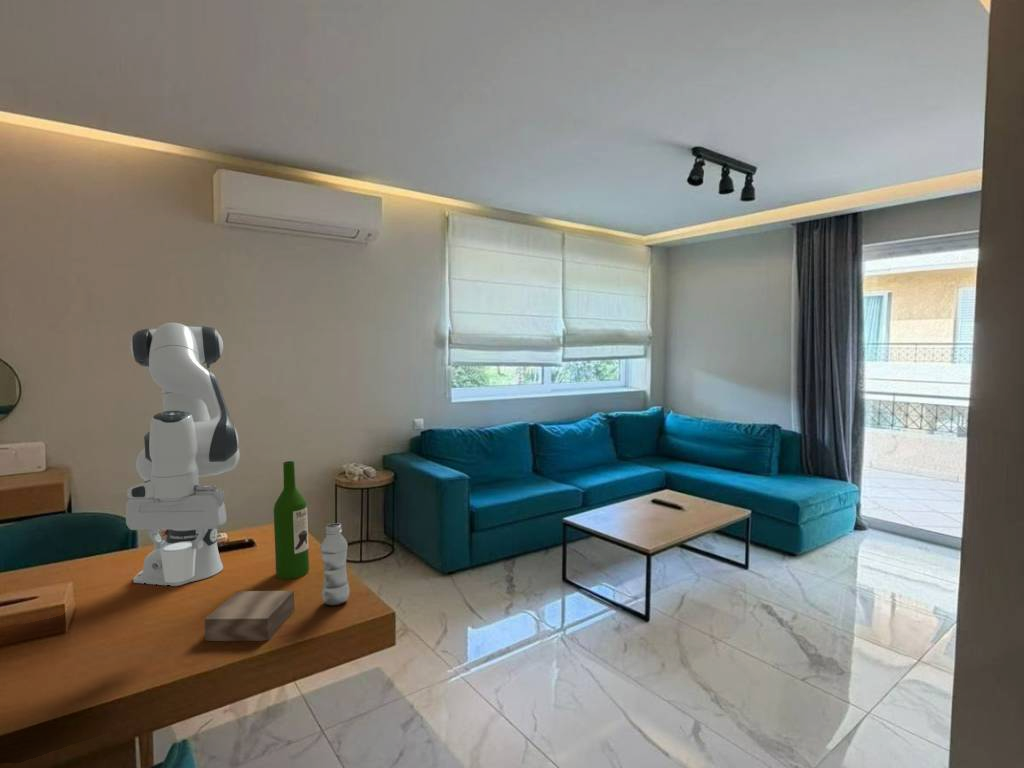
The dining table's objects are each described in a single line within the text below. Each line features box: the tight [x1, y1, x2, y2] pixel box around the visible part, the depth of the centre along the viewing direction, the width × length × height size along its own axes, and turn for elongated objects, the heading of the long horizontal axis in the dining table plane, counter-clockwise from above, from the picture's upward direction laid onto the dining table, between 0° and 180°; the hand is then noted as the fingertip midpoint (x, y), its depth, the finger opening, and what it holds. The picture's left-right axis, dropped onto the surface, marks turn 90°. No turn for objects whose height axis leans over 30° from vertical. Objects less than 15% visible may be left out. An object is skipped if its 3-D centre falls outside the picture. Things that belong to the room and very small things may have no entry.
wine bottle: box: [273, 460, 310, 580], centre depth 155 cm, size 9×9×32 cm
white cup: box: [160, 541, 196, 583], centre depth 118 cm, size 7×7×7 cm
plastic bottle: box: [320, 522, 350, 606], centre depth 136 cm, size 6×7×20 cm
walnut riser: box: [204, 590, 295, 642], centre depth 126 cm, size 14×14×5 cm
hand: (178, 548), depth 118 cm, fingers closed on white cup, 7 cm apart
